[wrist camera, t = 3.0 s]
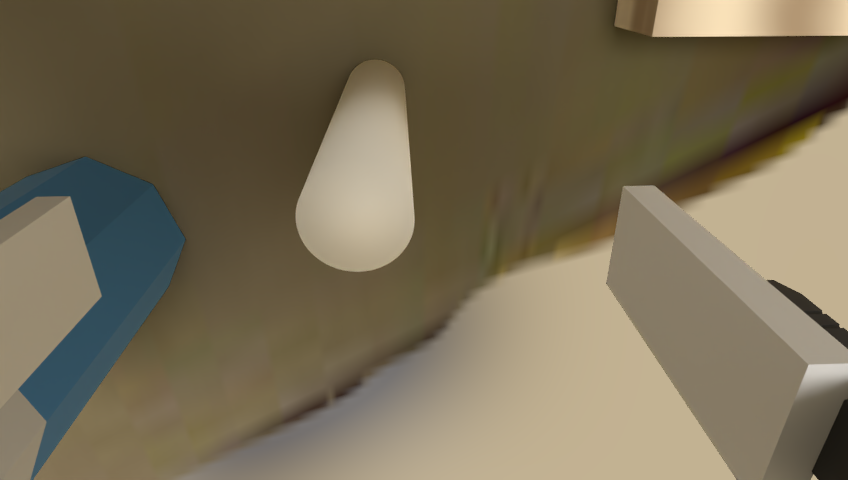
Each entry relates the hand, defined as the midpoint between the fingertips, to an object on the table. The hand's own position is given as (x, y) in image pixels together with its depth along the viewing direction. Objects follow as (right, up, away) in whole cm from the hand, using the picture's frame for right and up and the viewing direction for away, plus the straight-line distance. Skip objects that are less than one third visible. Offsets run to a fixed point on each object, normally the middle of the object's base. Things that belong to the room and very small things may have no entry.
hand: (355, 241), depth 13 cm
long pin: (-1, +8, +15) cm, 17 cm away
